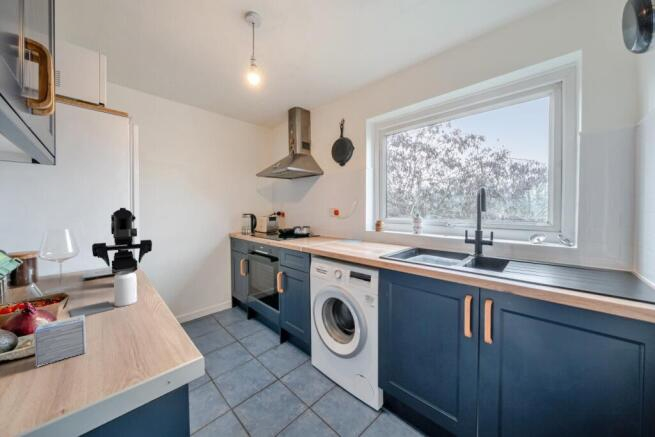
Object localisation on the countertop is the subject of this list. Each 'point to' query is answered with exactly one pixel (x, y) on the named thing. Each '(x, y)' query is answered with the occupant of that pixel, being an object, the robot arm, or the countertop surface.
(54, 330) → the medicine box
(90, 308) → the mat
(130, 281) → the can
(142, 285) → the countertop surface
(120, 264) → the robot arm
